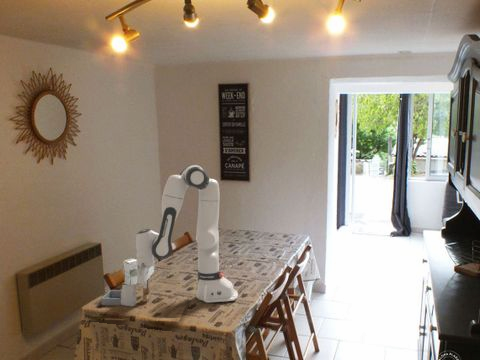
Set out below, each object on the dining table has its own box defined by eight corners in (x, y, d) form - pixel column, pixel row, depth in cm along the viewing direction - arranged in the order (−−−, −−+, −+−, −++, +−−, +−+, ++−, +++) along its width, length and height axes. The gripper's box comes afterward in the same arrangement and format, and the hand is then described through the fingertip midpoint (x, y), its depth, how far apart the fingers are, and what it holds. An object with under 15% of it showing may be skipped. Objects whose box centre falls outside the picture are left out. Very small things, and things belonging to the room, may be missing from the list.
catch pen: (127, 296, 227) (127, 290, 227) (120, 305, 216) (120, 298, 215) (109, 296, 228) (109, 290, 227) (101, 305, 216) (101, 298, 216)
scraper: (151, 296, 224) (150, 277, 223) (148, 301, 217) (147, 282, 216) (145, 296, 224) (145, 277, 223) (142, 301, 217) (141, 282, 216)
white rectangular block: (132, 306, 214) (131, 287, 213) (121, 305, 216) (120, 286, 215) (136, 303, 217) (135, 284, 216) (125, 302, 219) (124, 283, 218)
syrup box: (132, 281, 250) (131, 258, 249) (138, 283, 247) (137, 259, 245) (124, 284, 246) (123, 260, 245) (130, 286, 242) (129, 262, 241)
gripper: (145, 266, 208) (147, 293, 209) (156, 255, 228) (157, 279, 230) (133, 266, 208) (134, 293, 210) (144, 255, 229) (145, 279, 230)
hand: (146, 286), depth 220 cm, fingers closed on scraper, 3 cm apart
